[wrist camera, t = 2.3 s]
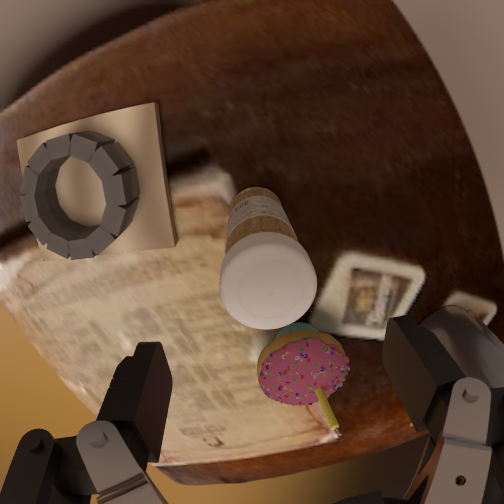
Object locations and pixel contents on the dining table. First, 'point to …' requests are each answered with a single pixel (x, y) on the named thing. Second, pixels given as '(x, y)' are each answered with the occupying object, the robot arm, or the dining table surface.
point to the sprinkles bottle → (264, 264)
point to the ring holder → (98, 185)
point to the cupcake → (303, 368)
